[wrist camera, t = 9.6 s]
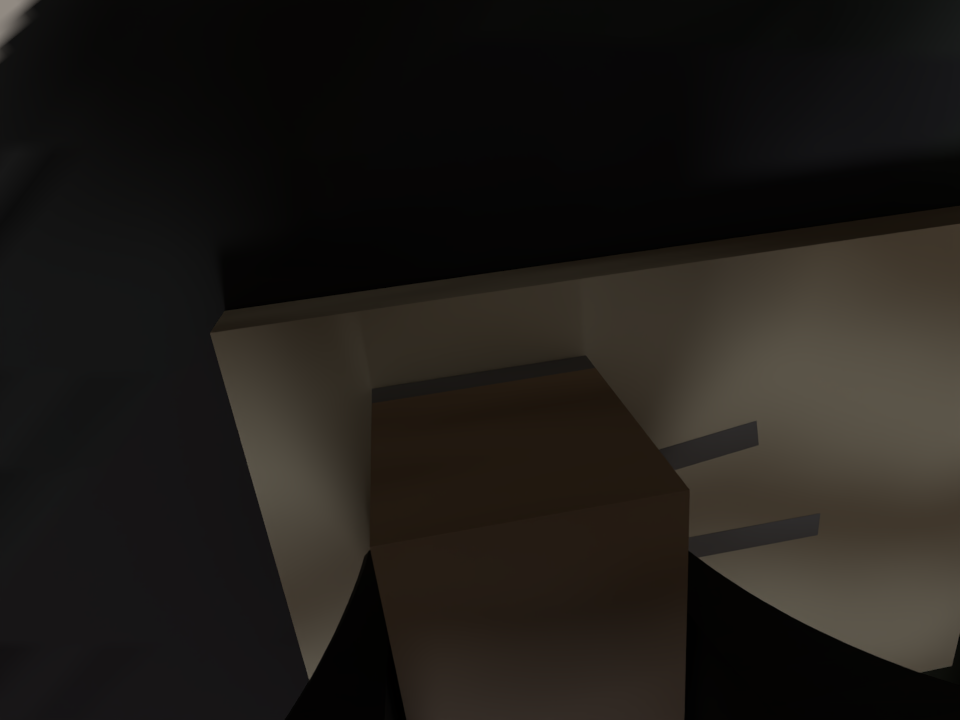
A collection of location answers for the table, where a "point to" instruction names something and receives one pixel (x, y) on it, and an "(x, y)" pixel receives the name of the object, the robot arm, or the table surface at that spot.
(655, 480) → the block
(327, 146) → the table surface
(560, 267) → the board
